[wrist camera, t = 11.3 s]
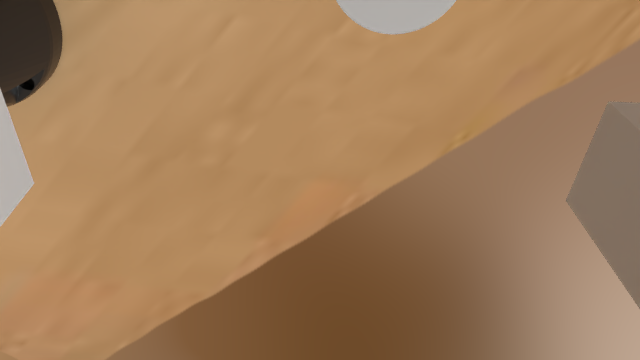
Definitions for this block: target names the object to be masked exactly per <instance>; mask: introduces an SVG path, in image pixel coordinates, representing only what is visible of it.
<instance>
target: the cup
mask: <svg viewBox="0 0 640 360" xmlns="http://www.w3.org/2000/svg"><path fill="white" fill-rule="evenodd" d="M336 1H337V3H338V4H339V6H340V7H341V8H342V10H343V11H344V12H345V13H346V14H347V15H348V16H349V17H350V18H351V19H352V20H353V21H355V22H356V23H357V24H359V25H361V26H362V27H364V28H366V29H369V30H371V31H374V32H378V33H383V34H403V33H408V32H412V31H416V30H418V29H421V28H423V27H425V26H427V25H429V24H431V23H433V22H434V21H436V20H437V19H438V18H440V17H441V16H442V15H443V14H444V13H445V12H447V11H448V10H449V8H450V7H451V6H452V5H453V4H454V3H455V1H456V0H336Z"/></svg>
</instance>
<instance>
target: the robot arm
mask: <svg viewBox="0 0 640 360" xmlns="http://www.w3.org/2000/svg"><path fill="white" fill-rule="evenodd" d="M61 51H62V30H61V24H60V19H59V16H58V12H57V10H56V7H55V4H54V2H53V0H0V226H1V225H2V224H3V223H4V221H5V220H6V219H7V218H8V216H9V215H10V214H11V212H12V211H13V210H14V209H15V207H16V206H17V205H18V204H19V202H20V201H21V200H22V198H23V197H24V196H25V195H26V193H27V192H28V191H29V189H30V188H31V187H32V186H33V184H34V182H33V179H32V176H31V173H30V170H29V168H28V165H27V162H26V159H25V156H24V154H23V151H22V148H21V145H20V142H19V139H18V137H17V134H16V131H15V128H14V125H13V123H12V120H11V117H10V114H9V111H8V108H7V106H11V105H14V104H16V103H19V102H21V101H23V100H25V99H26V98H28V97H29V96H31V95H32V94H33V93H35V92H36V91H37V90H38V89H39V88H40V87H41V86H42V85H43V84H44V83H45V82H46V81H47V80H48V79H49V78H50V77H51V76H52V74H53V73H54V71H55V69H56V67H57V65H58V63H59V59H60V56H61ZM566 202H567V203H568V204H569V206H570V207H571V209H572V210H573V212H574V213H575V215H576V216H577V217H578V219H579V220H580V222H581V223H582V225H583V226H584V228H585V229H586V231H587V232H588V234H589V235H590V237H591V238H592V240H593V241H594V243H595V244H596V245H597V247H598V248H599V250H600V251H601V253H602V254H603V256H604V257H605V259H606V260H607V262H608V263H609V264H610V266H611V267H612V269H613V270H614V272H615V273H616V275H617V276H618V278H619V279H620V281H621V282H622V283H623V285H624V286H625V288H626V289H627V291H628V292H629V294H630V295H631V297H632V298H633V300H634V301H635V303H636V304H637V305H638V307H639V308H640V103H632V102H630V103H629V102H608V104H607V106H606V108H605V111H604V113H603V115H602V118H601V120H600V122H599V125H598V128H597V129H596V132H595V134H594V136H593V139H592V141H591V143H590V145H589V148H588V150H587V153H586V155H585V157H584V159H583V162H582V164H581V167H580V169H579V171H578V173H577V176H576V178H575V180H574V183H573V185H572V187H571V190H570V192H569V194H568V197H567V199H566Z"/></svg>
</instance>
